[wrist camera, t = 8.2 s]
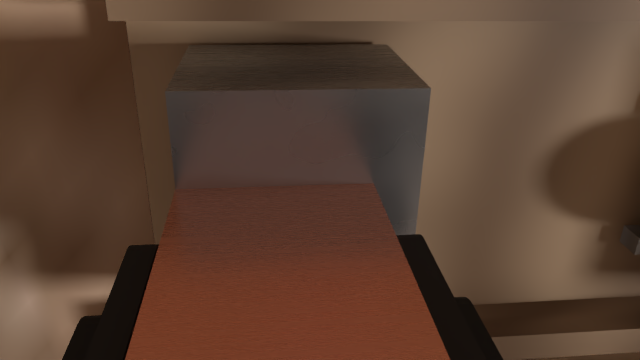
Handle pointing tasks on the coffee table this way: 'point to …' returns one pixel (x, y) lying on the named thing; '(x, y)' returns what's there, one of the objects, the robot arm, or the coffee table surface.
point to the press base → (472, 144)
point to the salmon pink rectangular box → (290, 208)
